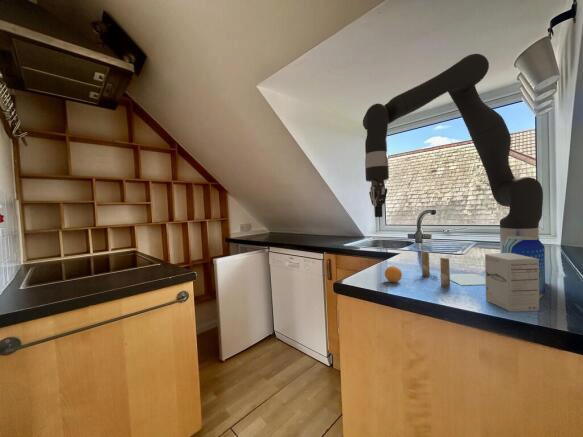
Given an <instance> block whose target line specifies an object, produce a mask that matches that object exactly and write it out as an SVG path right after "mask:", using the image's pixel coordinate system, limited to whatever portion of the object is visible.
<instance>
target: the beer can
mask: <svg viewBox="0 0 583 437" xmlns="http://www.w3.org/2000/svg"><path fill="white" fill-rule="evenodd" d="M506 238H507V239H506V240H505V242H504V243H503V244H502V253H514V254H518V255H523V256H528V257H532V258H537V259H539V299H541V298H542V297H543V296H544V295H546V262H545V260H546V257H545V256H546V252H545V251H546V250H545V249H546V248H545V245H544V244H543V243H542V242H541V241H540V237H539V238H538V237H531V236H508V237H506Z"/></svg>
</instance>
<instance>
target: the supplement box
mask: <svg viewBox="0 0 583 437" xmlns="http://www.w3.org/2000/svg"><path fill="white" fill-rule="evenodd" d="M484 266H485V267H484V268H485V270H484V272H485V273H484V274H485V278H486V285H485V301H487V302H489V303H492V304H494V305H496V306H498V307H500V308H501V309H504V310H506V311H507V312H510V313H511V312H533V311H534V312H535V311H540V298H539V259H537V258H532V257H528V256H523V255H518V254H514V253H486V254H485V255H484Z"/></svg>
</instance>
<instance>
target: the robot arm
mask: <svg viewBox="0 0 583 437" xmlns="http://www.w3.org/2000/svg"><path fill="white" fill-rule="evenodd" d="M489 64H490V63H489V60H488V59H487V57H486V56H484V54H480V53H470V54H469V55H466V56H464V57H463V58H462V59H461V60H459V61H457V62H456V63H455V64H453V65H452V66H450V67H449V68H447V69H445V70H444V71H442V72H441V73H439V74H437V75H435V76H434V77H432V78H430V79H428V80H426V81H424V82H423V83H420V84H418V85H416V86H415V87H412V88H410V89H408V90H406V91H404V92H402V93H399V94H397V95H396V96H394V97H392V98H391V99H390V100H389V101H388V102H386V103H385V104H382V103H374V104H372V105H370V106H369V107H368V109H367V110H366V112H365V115H364V116H363V120H362V126H363V128H364V129H365V130H366V138H365V143H364V144H365V145H364V147H365V148H364V149H365V150H364V151H365V159H364V166H365V172H364V173H365V181H366V182H368V183H371V186H370V187H369V192H368V194H369V198H370V202H371V205H372V206H373V208H374V217H375V218H382V217H383V206H384V204H385V203H386V199H387V194H388V188H387V187H386V185H385V181H388V180H389V179H390V178H389V177H390V172H389V169H390V168H389V157H388V142H387V136H388V128H389V125H390V124H392V123H393V122H395V121H396V120H398V119H400V118H403V117H405V116H407V115H410V114H411V113H413V112H416V111H417V110H419V109H421V108H422V107H424V106H426V105H427V104H429V103H431V102H432V101H434V100H436V99H437V98H439V97H441V96H443V95H444V94H446V93H448V94H449V97H450V98H451V100H452V101H453V103H454V104H455V106H456V108H457V110H458V111H459V113H460V116H461V118H462V120H463V122H464V124H465V126H466V129H467V130H468V134H469V136H470V139H471V141H472V143H473V146H474V148H475V150H476V152H477V154H478V156H479V159H480V161H481V163H482V165H483V168H484V169H483V170H485V171H484V172H485V173H486V176H487V180H488V182H489V186H490V190H491V193H492V197H493V198H494V201H495V202H497V204H499V205H500V206H503V207H506V208H507V207H508V208H509V211H508V214H507V215H506V216H504V217H503V218H501V219H500V220H499V244H500V246H499V247H500V248H499V250H500V253H502V244H503V243H504V242H505V240H506V239H507V238H506V237H508V236H531V237H538V238H539V239H540V235H539V223H540V222H541V219H542V216H543V206H544V204H543V203H544V191H543V186H542V184H541V183H540V181H538V180H537V179H536V178H533V177H530V176H529V177H527V176H526V177H519V178H515V175H514V174H513V172H512V169H511V167H510V159H509V158H510V152H511V144H512V137H511V133H510V130H509V128H508V126H507V123H506V122H505V120H504V118H503V117H502V115H501V114H499V113H498V112H497V111H496V110H495V109H493V108H491V107H490V106H488V105H487V104H486V103H485V102H484V101H483V100H482V98H481V97H480V95H479V93H478V90H477V88H476V85H477V84H479V83H480V82H481V81H482V80H483V79H484V78H485V76H486V75H487V74H488V71H489V69H490V65H489Z"/></svg>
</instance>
